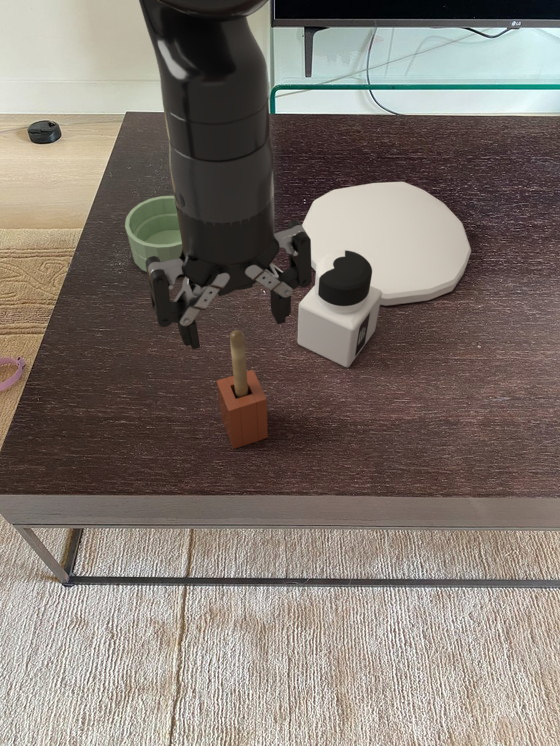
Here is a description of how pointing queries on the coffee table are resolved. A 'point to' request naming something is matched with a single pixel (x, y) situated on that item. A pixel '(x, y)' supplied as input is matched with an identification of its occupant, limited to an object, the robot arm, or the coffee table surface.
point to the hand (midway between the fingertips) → (236, 329)
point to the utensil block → (243, 411)
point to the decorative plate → (392, 238)
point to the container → (339, 308)
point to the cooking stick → (239, 363)
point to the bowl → (154, 230)
